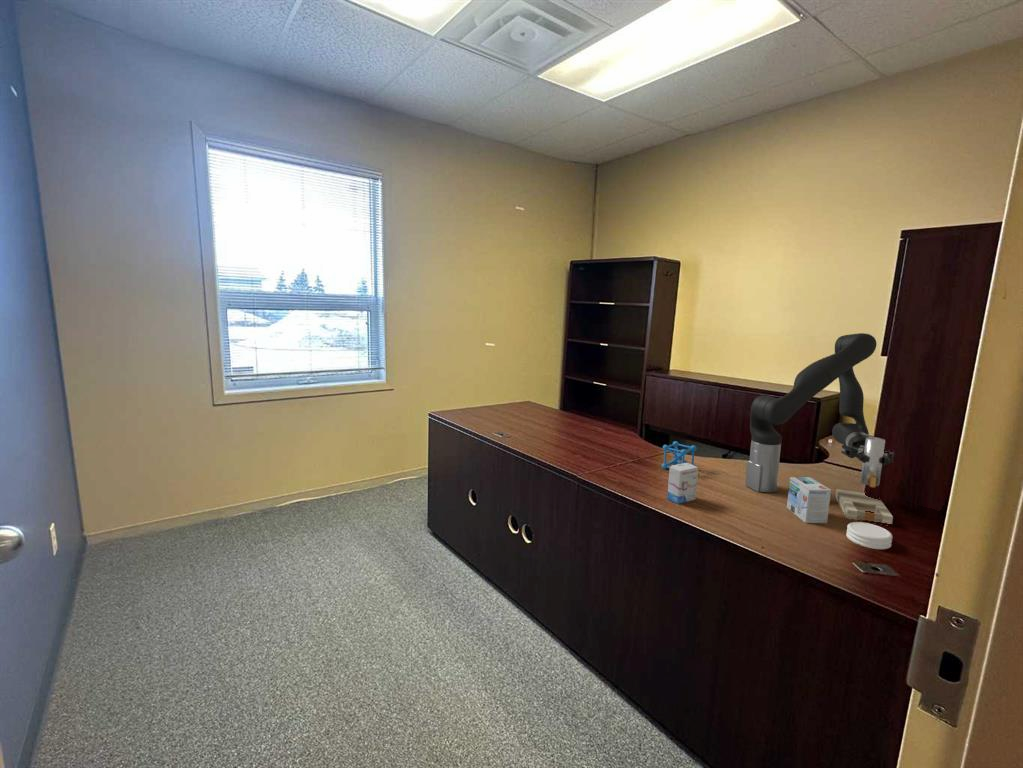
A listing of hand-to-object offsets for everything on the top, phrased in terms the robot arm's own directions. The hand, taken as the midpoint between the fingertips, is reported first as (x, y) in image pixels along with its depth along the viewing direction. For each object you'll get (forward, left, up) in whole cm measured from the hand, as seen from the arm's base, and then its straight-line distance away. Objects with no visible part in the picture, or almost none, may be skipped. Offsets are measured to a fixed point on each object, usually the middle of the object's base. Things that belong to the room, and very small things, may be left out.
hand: (875, 460), depth 138 cm
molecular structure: (-28, +54, -19) cm, 64 cm away
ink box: (-45, +28, -19) cm, 57 cm away
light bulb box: (-15, +7, -19) cm, 26 cm away
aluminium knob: (+2, +2, -8) cm, 8 cm away
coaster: (-12, -10, -19) cm, 25 cm away
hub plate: (+5, +5, -19) cm, 20 cm away
